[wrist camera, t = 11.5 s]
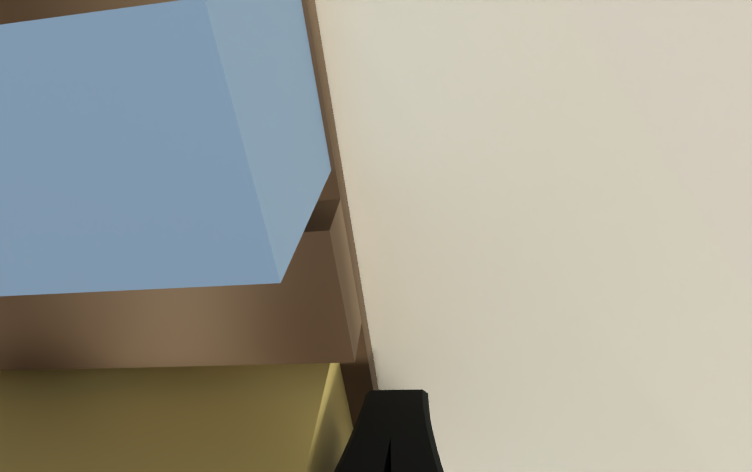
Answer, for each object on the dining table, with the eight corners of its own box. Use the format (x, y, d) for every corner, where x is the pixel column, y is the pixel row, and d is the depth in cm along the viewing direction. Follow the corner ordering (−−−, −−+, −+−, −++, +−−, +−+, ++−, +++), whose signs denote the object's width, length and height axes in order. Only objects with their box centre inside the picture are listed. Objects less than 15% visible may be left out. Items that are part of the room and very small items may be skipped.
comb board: (275, -239, 6) (143, -423, 3) (391, 470, 14) (383, 606, 11) (-409, -99, 8) (-909, -139, 5) (31, 467, 15) (-61, 585, 12)
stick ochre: (335, 342, 11) (300, 492, 8) (353, 429, 12) (330, 583, 9) (-47, 352, 12) (-206, 484, 9) (12, 429, 13) (-108, 565, 10)
